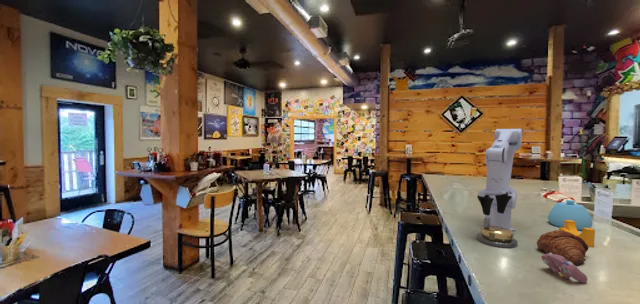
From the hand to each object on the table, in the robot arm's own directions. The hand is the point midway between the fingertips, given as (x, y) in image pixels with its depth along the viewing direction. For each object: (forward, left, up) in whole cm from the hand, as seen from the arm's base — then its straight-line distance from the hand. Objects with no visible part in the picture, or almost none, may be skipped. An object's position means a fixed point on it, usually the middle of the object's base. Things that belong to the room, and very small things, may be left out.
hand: (493, 213), depth 111 cm
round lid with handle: (+3, -2, -8) cm, 9 cm away
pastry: (+17, +11, -10) cm, 22 cm away
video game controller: (+29, -6, -10) cm, 32 cm away
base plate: (+3, -2, -9) cm, 10 cm away
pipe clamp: (+10, +29, -10) cm, 32 cm away
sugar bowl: (-5, +47, -10) cm, 48 cm away
